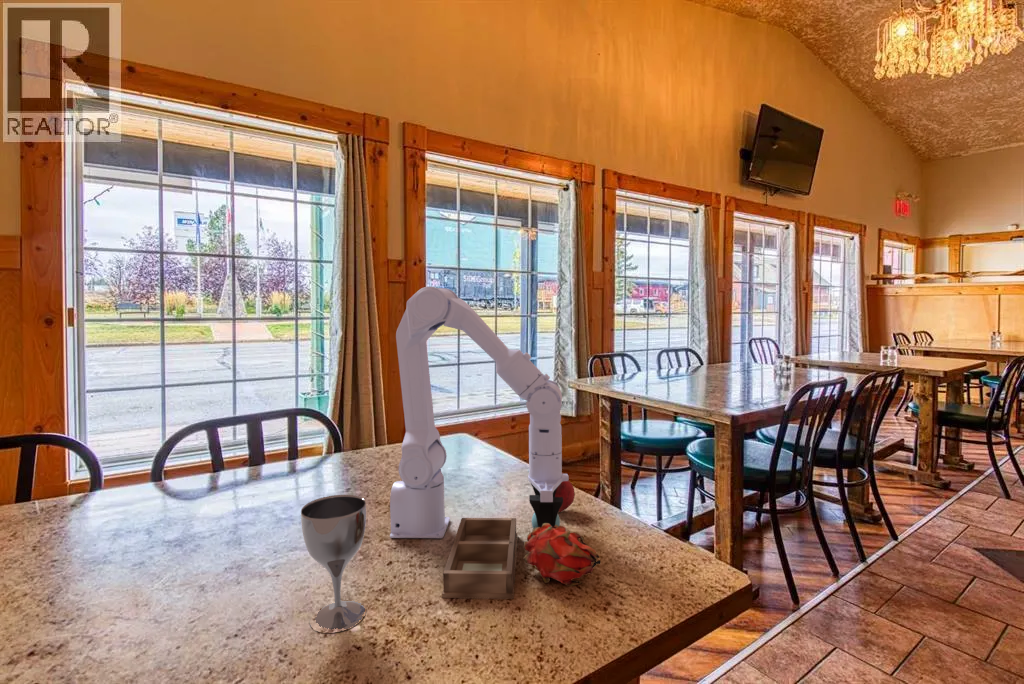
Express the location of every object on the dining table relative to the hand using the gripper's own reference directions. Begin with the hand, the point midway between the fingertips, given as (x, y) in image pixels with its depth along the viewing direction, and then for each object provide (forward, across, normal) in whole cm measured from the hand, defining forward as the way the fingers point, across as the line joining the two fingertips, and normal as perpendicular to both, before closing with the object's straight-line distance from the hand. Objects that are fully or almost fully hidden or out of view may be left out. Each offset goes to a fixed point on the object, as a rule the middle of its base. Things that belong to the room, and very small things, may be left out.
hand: (545, 526), depth 90 cm
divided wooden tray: (+2, -10, +10) cm, 14 cm away
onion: (+2, +10, -3) cm, 11 cm away
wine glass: (+2, -24, +28) cm, 37 cm away
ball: (-1, 0, 0) cm, 1 cm away
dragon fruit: (+2, -14, -2) cm, 14 cm away
